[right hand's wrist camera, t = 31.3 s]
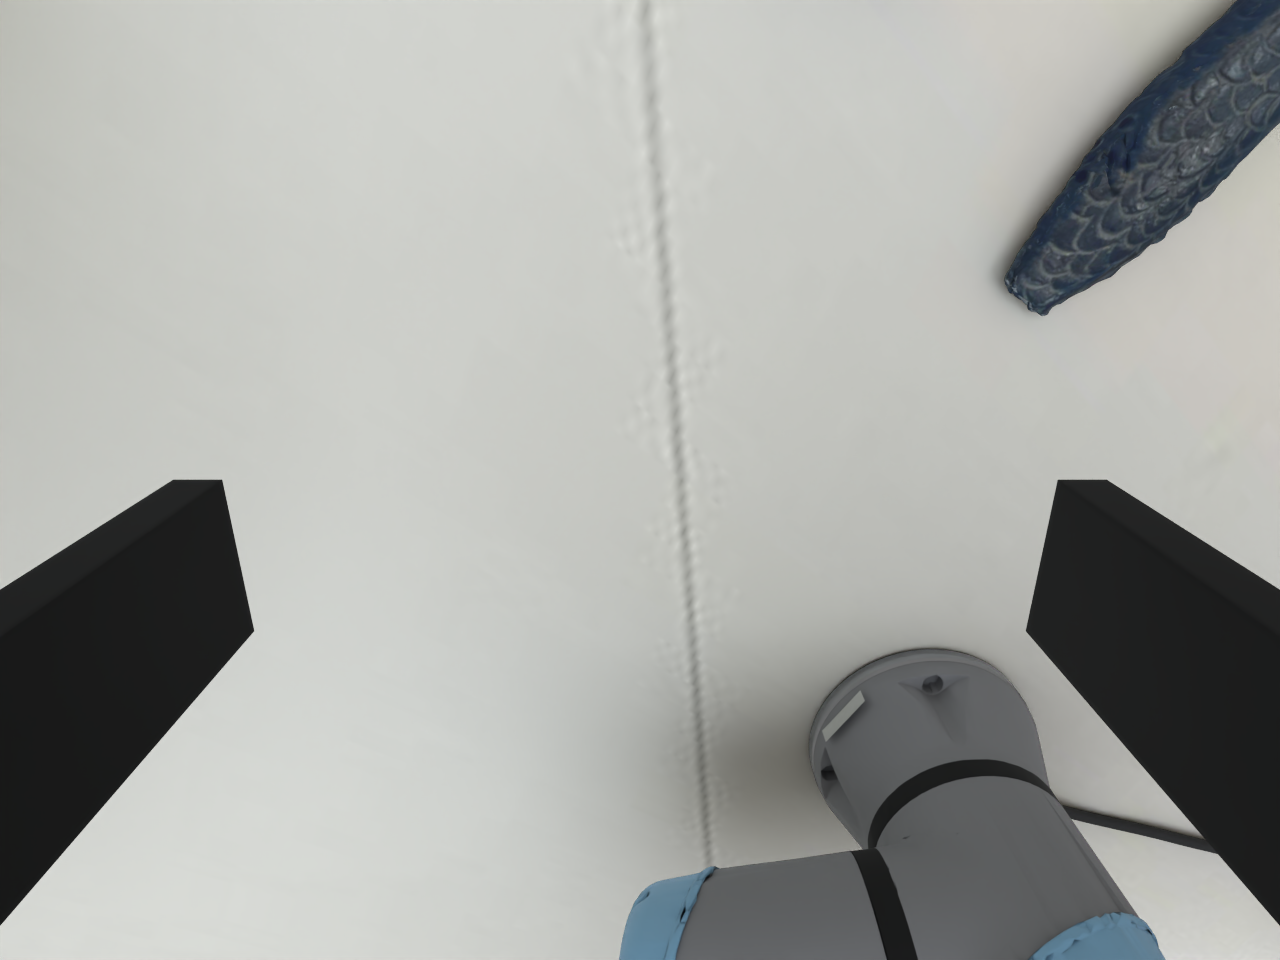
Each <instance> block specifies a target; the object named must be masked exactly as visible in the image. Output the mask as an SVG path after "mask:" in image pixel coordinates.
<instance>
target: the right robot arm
mask: <svg viewBox="0 0 1280 960" xmlns="http://www.w3.org/2000/svg"><path fill="white" fill-rule="evenodd" d="M253 632H254V628H253V623H252V619H251V614H250V609H249V604H248V600H247V595H246V590H245V586H244V581H243V576H242V571H241V567H240V562H239V557H238V552H237V548H236V543H235V538H234V534H233V529H232V524H231V519H230V515H229V510H228V505H227V501H226V496H225V491H224V486H223V482H222V480H172V481H171V482H169V483H168V484H166V485H164V486H163V487H161V488H160V489H158V490H157V491H155V492H153V493H152V494H150V495H149V496H147V497H146V498H144V499H142V500H141V501H139V502H138V503H136V504H134V505H133V506H131V507H130V508H128V509H127V510H125V511H123V512H122V513H120V514H119V515H117V516H116V517H114V518H112V519H111V520H109V521H108V522H106V523H105V524H103V525H101V526H100V527H98V528H97V529H95V530H94V531H92V532H90V533H89V534H87V535H86V536H84V537H83V538H81V539H79V540H78V541H76V542H75V543H73V544H72V545H70V546H68V547H67V548H65V549H64V550H62V551H60V552H59V553H57V554H56V555H54V556H53V557H51V558H49V559H48V560H46V561H45V562H43V563H42V564H40V565H38V566H37V567H35V568H34V569H32V570H31V571H29V572H27V573H26V574H24V575H23V576H21V577H20V578H18V579H16V580H15V581H13V582H12V583H10V584H9V585H7V586H5V587H4V588H2V589H1V590H0V925H1V924H2V923H3V922H4V921H5V919H6V918H7V917H8V916H9V915H10V914H11V912H12V911H13V910H14V909H15V908H16V907H17V905H18V904H19V903H20V902H21V901H22V900H23V898H24V897H25V896H26V895H27V894H28V893H29V892H30V890H31V889H32V888H33V887H34V886H35V885H36V883H37V882H38V881H39V880H40V879H41V878H42V876H43V875H44V874H45V873H46V872H47V871H48V869H49V868H50V867H51V866H52V865H53V864H54V863H55V861H56V860H57V859H58V858H59V857H60V856H61V854H62V853H63V852H64V851H65V850H66V849H67V847H68V846H69V845H70V844H71V843H72V842H73V841H74V839H75V838H76V837H77V836H78V835H79V834H80V832H81V831H82V830H83V829H84V828H85V827H86V825H87V824H88V823H89V822H90V821H91V820H92V818H93V817H94V816H95V815H96V814H97V813H98V812H99V810H100V809H101V808H102V807H103V806H104V805H105V803H106V802H107V801H108V800H109V799H110V798H111V796H112V795H113V794H114V793H115V792H116V791H117V789H118V788H119V787H120V786H121V785H122V784H123V783H124V781H125V780H126V779H127V778H128V777H129V776H130V774H131V773H132V772H133V771H134V770H135V769H136V767H137V766H138V765H139V764H140V763H141V762H142V760H143V759H144V758H145V757H146V756H147V755H148V754H149V752H150V751H151V750H152V749H153V748H154V747H155V745H156V744H157V743H158V742H159V741H160V740H161V738H162V737H163V736H164V735H165V734H166V733H167V731H168V730H169V729H170V728H171V727H172V726H173V725H174V723H175V722H176V721H177V720H178V719H179V718H180V716H181V715H182V714H183V713H184V712H185V711H186V709H187V708H188V707H189V706H190V705H191V704H192V702H193V701H194V700H195V699H196V698H197V697H198V696H199V694H200V693H201V692H202V691H203V690H204V689H205V687H206V686H207V685H208V684H209V683H210V682H211V680H212V679H213V678H214V677H215V676H216V675H217V673H218V672H219V671H220V670H221V669H222V668H223V667H224V665H225V664H226V663H227V662H228V661H229V660H230V658H231V657H232V656H233V655H234V654H235V653H236V651H237V650H238V649H239V648H240V647H241V646H242V644H243V643H244V642H245V641H246V640H247V639H248V638H249V636H250V635H251V634H252V633H253ZM1026 632H1027V633H1028V634H1029V635H1030V636H1031V638H1032V639H1033V640H1034V641H1035V642H1036V643H1037V644H1038V646H1039V647H1040V648H1041V649H1042V650H1043V651H1044V653H1045V654H1046V655H1047V656H1048V657H1049V658H1050V660H1051V661H1052V662H1053V663H1054V664H1055V665H1056V667H1057V668H1058V669H1059V670H1060V671H1061V672H1062V673H1063V675H1064V676H1065V677H1066V678H1067V679H1068V680H1069V682H1070V683H1071V684H1072V685H1073V686H1074V687H1075V689H1076V690H1077V691H1078V692H1079V693H1080V694H1081V696H1082V697H1083V698H1084V699H1085V700H1086V701H1087V702H1088V704H1089V705H1090V706H1091V707H1092V708H1093V709H1094V711H1095V712H1096V713H1097V714H1098V715H1099V716H1100V718H1101V719H1102V720H1103V721H1104V722H1105V723H1106V725H1107V726H1108V727H1109V728H1110V729H1111V730H1112V731H1113V733H1114V734H1115V735H1116V736H1117V737H1118V738H1119V740H1120V741H1121V742H1122V743H1123V744H1124V745H1125V747H1126V748H1127V749H1128V750H1129V751H1130V752H1131V754H1132V755H1133V756H1134V757H1135V758H1136V759H1137V760H1138V762H1139V763H1140V764H1141V765H1142V766H1143V767H1144V769H1145V770H1146V771H1147V772H1148V773H1149V774H1150V776H1151V777H1152V778H1153V779H1154V780H1155V781H1156V783H1157V784H1158V785H1159V786H1160V787H1161V788H1162V789H1163V791H1164V792H1165V793H1166V794H1167V795H1168V796H1169V798H1170V799H1171V800H1172V801H1173V802H1174V803H1175V805H1176V806H1177V807H1178V808H1179V809H1180V810H1181V812H1182V813H1183V814H1184V815H1185V816H1186V817H1187V818H1188V820H1189V821H1190V822H1191V823H1192V824H1193V825H1194V827H1195V828H1196V829H1197V830H1198V831H1199V832H1200V834H1201V835H1202V836H1203V837H1204V838H1205V839H1206V840H1203V839H1199V838H1195V837H1191V836H1187V835H1183V834H1179V833H1175V832H1171V831H1168V830H1164V829H1160V828H1156V827H1152V826H1147V825H1143V824H1139V823H1135V822H1130V821H1126V820H1121V819H1117V818H1112V817H1108V816H1104V815H1099V814H1095V813H1091V812H1087V811H1083V810H1079V809H1075V808H1071V807H1067V806H1064V805H1061V804H1060V803H1059V801H1058V800H1057V798H1056V797H1055V795H1054V794H1053V792H1052V791H1051V789H1050V787H1049V782H1048V778H1047V773H1046V769H1045V764H1044V760H1043V755H1042V751H1041V746H1040V741H1039V737H1038V732H1037V728H1036V725H1035V722H1034V720H1033V718H1032V715H1031V713H1030V711H1029V709H1028V707H1027V705H1026V703H1025V701H1024V700H1023V698H1022V697H1021V696H1020V694H1019V693H1018V691H1017V690H1016V689H1015V687H1014V686H1013V685H1012V683H1011V682H1010V681H1009V680H1008V679H1007V678H1006V677H1005V676H1004V675H1003V674H1002V673H1001V672H1000V671H999V670H997V669H996V668H994V667H993V666H992V665H990V664H988V663H986V662H984V661H983V660H980V659H978V658H976V657H973V656H970V655H967V654H964V653H960V652H955V651H949V650H938V649H925V650H914V651H907V652H902V653H898V654H894V655H891V656H887V657H885V658H882V659H879V660H877V661H875V662H873V663H871V664H868V665H866V666H865V667H863V668H861V669H859V670H858V671H856V672H855V673H853V674H852V675H850V676H849V677H848V678H847V679H845V680H844V681H843V682H842V683H841V684H839V685H838V686H837V687H836V688H835V689H834V690H833V692H832V693H831V694H830V695H829V696H828V698H827V699H826V700H825V702H824V703H823V705H822V706H821V708H820V710H819V712H818V713H817V715H816V718H815V720H814V723H813V726H812V729H811V733H810V739H809V756H810V762H811V766H812V770H813V773H814V776H815V779H816V782H817V785H818V787H819V789H820V791H821V793H822V795H823V797H824V799H825V801H826V803H827V805H828V806H829V808H830V809H831V810H832V812H833V813H834V814H835V815H836V817H837V818H838V819H839V820H840V821H841V823H842V824H843V825H844V826H845V828H846V829H847V830H848V831H849V832H850V834H851V835H852V836H853V837H854V839H855V840H856V841H857V842H858V844H859V845H860V846H861V847H862V848H863V850H857V851H847V852H840V853H833V854H826V855H819V856H813V857H806V858H799V859H792V860H784V861H776V862H768V863H760V864H753V865H745V866H737V867H729V868H721V869H720V868H717V867H715V866H714V867H708V868H706V869H705V870H703V871H702V872H701V873H697V874H692V875H687V876H682V877H677V878H672V879H667V880H662V881H658V882H656V883H654V884H651V885H650V886H648V887H647V888H646V889H645V890H644V891H643V892H642V893H641V894H640V895H639V897H638V898H637V900H636V901H635V903H634V905H633V907H632V910H631V912H630V914H629V916H628V919H627V923H626V926H625V930H624V935H623V939H622V944H621V951H620V957H619V960H1165V958H1164V956H1163V955H1162V953H1161V951H1160V950H1159V947H1158V943H1157V939H1156V937H1155V935H1154V934H1153V933H1152V930H1151V929H1150V928H1149V926H1148V925H1147V923H1146V922H1144V921H1143V920H1142V919H1140V918H1139V917H1138V915H1137V914H1136V912H1135V911H1134V909H1133V908H1132V907H1131V905H1130V904H1129V902H1128V901H1127V899H1126V898H1125V896H1124V895H1123V894H1122V892H1121V891H1120V889H1119V888H1118V886H1117V885H1116V883H1115V882H1114V880H1113V879H1112V878H1111V876H1110V875H1109V873H1108V872H1107V870H1106V869H1105V867H1104V866H1103V865H1102V863H1101V862H1100V860H1099V859H1098V857H1097V856H1096V854H1095V853H1094V852H1093V850H1092V849H1091V847H1090V846H1089V844H1088V843H1087V841H1086V840H1085V839H1084V837H1083V836H1082V834H1081V833H1080V831H1079V830H1078V828H1077V827H1076V826H1075V824H1074V823H1073V821H1072V820H1071V819H1074V820H1078V821H1082V822H1086V823H1090V824H1095V825H1099V826H1103V827H1108V828H1112V829H1117V830H1121V831H1126V832H1130V833H1134V834H1139V835H1143V836H1147V837H1151V838H1156V839H1160V840H1163V841H1167V842H1171V843H1175V844H1179V845H1183V846H1187V847H1191V848H1195V849H1199V850H1203V851H1208V852H1212V853H1216V854H1219V856H1220V857H1221V858H1222V859H1223V860H1224V861H1225V863H1226V864H1227V865H1228V866H1229V867H1230V868H1231V869H1232V871H1233V872H1234V873H1235V874H1236V875H1237V876H1238V878H1239V879H1240V880H1241V881H1242V882H1243V883H1244V885H1245V886H1246V887H1247V888H1248V889H1249V890H1250V892H1251V893H1252V894H1253V895H1254V896H1255V897H1256V898H1257V900H1258V901H1259V902H1260V903H1261V904H1262V905H1263V907H1264V908H1265V909H1266V910H1267V911H1268V912H1269V914H1270V915H1271V916H1272V917H1273V918H1274V919H1275V921H1276V922H1277V923H1278V924H1279V925H1280V590H1279V589H1278V588H1276V587H1275V586H1273V585H1271V584H1270V583H1268V582H1267V581H1265V580H1264V579H1262V578H1260V577H1259V576H1257V575H1256V574H1254V573H1253V572H1251V571H1249V570H1248V569H1246V568H1245V567H1243V566H1242V565H1240V564H1238V563H1237V562H1235V561H1234V560H1232V559H1231V558H1229V557H1227V556H1226V555H1224V554H1223V553H1221V552H1220V551H1218V550H1216V549H1215V548H1213V547H1212V546H1210V545H1208V544H1207V543H1205V542H1204V541H1202V540H1201V539H1199V538H1197V537H1196V536H1194V535H1193V534H1191V533H1190V532H1188V531H1186V530H1185V529H1183V528H1182V527H1180V526H1179V525H1177V524H1175V523H1174V522H1172V521H1171V520H1169V519H1168V518H1166V517H1164V516H1163V515H1161V514H1160V513H1158V512H1157V511H1155V510H1153V509H1152V508H1150V507H1149V506H1147V505H1146V504H1144V503H1142V502H1141V501H1139V500H1138V499H1136V498H1134V497H1133V496H1131V495H1130V494H1128V493H1127V492H1125V491H1123V490H1122V489H1120V488H1119V487H1117V486H1116V485H1114V484H1112V483H1111V482H1109V481H1108V480H1058V482H1057V486H1056V491H1055V496H1054V501H1053V505H1052V510H1051V515H1050V519H1049V524H1048V529H1047V534H1046V538H1045V543H1044V548H1043V552H1042V557H1041V562H1040V567H1039V571H1038V576H1037V581H1036V586H1035V590H1034V595H1033V600H1032V604H1031V609H1030V614H1029V619H1028V623H1027V628H1026Z"/></svg>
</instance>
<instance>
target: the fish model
mask: <svg viewBox="0 0 1280 960" xmlns="http://www.w3.org/2000/svg"><path fill="white" fill-rule="evenodd" d="M1279 123H1280V0H1237V1H1236V2H1235V3H1234V4H1233V5H1232V6H1231V7H1230V8H1229V9H1228V11H1227V12H1226V13H1225V14H1224V15H1223V16H1222V17H1221V18H1220V19H1219V20H1217V21H1216V22H1215V23H1214V24H1212V25H1211V26H1210V27H1209V28H1208V29H1207V30H1206V31H1205V32H1204V33H1203V34H1202V35H1201V36H1200V37H1199V38H1198V39H1196V40H1195V41H1194V42H1193V43H1192V44H1191V45H1189V46H1188V47H1187V48H1186V49H1185V50H1184V51H1183V53H1182V55H1181V57H1180V58H1179V60H1178V61H1177V62H1176V63H1175V64H1174V65H1173V66H1171V67H1169V68H1167V69H1166V70H1164V71H1163V72H1162V73H1160V74H1159V75H1158V76H1157V77H1156V78H1155V79H1154V80H1153V81H1152V82H1151V83H1150V84H1149V85H1148V86H1147V87H1146V88H1145V90H1144V91H1143V93H1142V94H1141V95H1140V96H1139V97H1137V98H1136V99H1134V100H1133V101H1132V102H1131V103H1130V105H1129V106H1128V107H1127V108H1126V109H1125V110H1124V111H1123V113H1122V114H1121V115H1120V116H1119V117H1118V119H1117V120H1116V121H1115V122H1114V124H1113V125H1112V126H1111V127H1110V128H1109V129H1107V130H1106V131H1105V133H1104V134H1103V135H1102V136H1101V137H1100V138H1099V139H1098V140H1097V142H1096V144H1095V145H1094V147H1093V148H1092V150H1091V151H1090V152H1089V153H1088V154H1087V155H1086V156H1085V157H1084V159H1083V161H1082V164H1081V166H1080V167H1079V169H1078V170H1077V171H1076V172H1075V173H1074V174H1073V175H1072V177H1071V178H1070V179H1069V181H1068V182H1067V184H1066V186H1065V188H1064V190H1063V191H1062V193H1061V194H1060V195H1059V196H1058V197H1057V198H1056V199H1055V201H1054V202H1053V204H1052V205H1051V207H1050V208H1049V209H1048V210H1047V212H1046V213H1045V214H1044V215H1043V216H1042V217H1041V218H1040V220H1039V222H1038V223H1037V229H1036V230H1035V231H1034V232H1033V233H1032V235H1031V237H1030V238H1029V239H1028V240H1027V241H1026V243H1025V244H1024V246H1023V247H1022V248H1021V250H1020V251H1019V253H1018V254H1017V256H1016V258H1015V260H1014V262H1013V264H1012V265H1011V267H1010V269H1009V271H1008V272H1007V274H1006V276H1005V279H1004V282H1005V285H1006V286H1007V288H1008V291H1009V292H1010V293H1013V294H1014V296H1016V297H1017V298H1018V299H1020V300H1022V301H1023V302H1024V303H1025V304H1026V305H1027V306H1028V310H1030V311H1031V312H1037V313H1038V314H1039V315H1041V316H1045V315H1047V314H1048V313H1049V311H1050V310H1051V308H1052V307H1054V306H1055V305H1057V304H1061V303H1062V302H1064V301H1065V300H1067V299H1068V298H1070V297H1071V296H1073V295H1075V294H1077V293H1080V292H1082V291H1084V290H1086V289H1088V288H1089V287H1091V286H1092V285H1094V284H1095V283H1097V282H1099V281H1102V280H1104V279H1107V278H1110V277H1111V276H1113V275H1114V274H1115V273H1116V272H1117V271H1118V270H1119V269H1120V268H1121V266H1123V265H1125V264H1126V263H1128V262H1129V261H1131V260H1133V259H1134V258H1136V257H1138V256H1139V255H1140V254H1141V253H1142V252H1143V251H1144V250H1145V249H1146V248H1147V247H1148V246H1149V245H1151V244H1155V243H1158V242H1159V241H1161V240H1163V239H1164V238H1165V236H1166V233H1167V232H1168V230H1169V229H1171V228H1172V227H1173V226H1174V225H1176V224H1178V223H1180V222H1181V221H1183V220H1184V219H1186V218H1187V217H1188V216H1189V215H1190V214H1191V212H1192V209H1193V208H1194V207H1195V206H1196V204H1197V203H1198V202H1201V201H1203V200H1204V199H1206V198H1208V197H1209V196H1210V195H1211V194H1212V193H1213V192H1214V191H1215V189H1216V188H1217V186H1218V185H1219V184H1220V183H1221V182H1222V181H1223V180H1224V179H1226V178H1227V177H1228V176H1229V175H1230V174H1231V172H1232V171H1233V170H1234V169H1235V167H1236V166H1237V165H1238V163H1240V162H1241V161H1242V160H1243V159H1244V158H1245V157H1246V156H1247V155H1248V154H1249V153H1250V152H1251V151H1252V150H1253V149H1254V148H1255V147H1256V146H1257V145H1258V144H1259V143H1260V142H1261V141H1262V139H1263V138H1264V137H1265V136H1266V135H1267V134H1268V133H1269V132H1270V131H1271V130H1272V129H1273V128H1275V127H1276V126H1277V125H1278V124H1279Z"/></svg>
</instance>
